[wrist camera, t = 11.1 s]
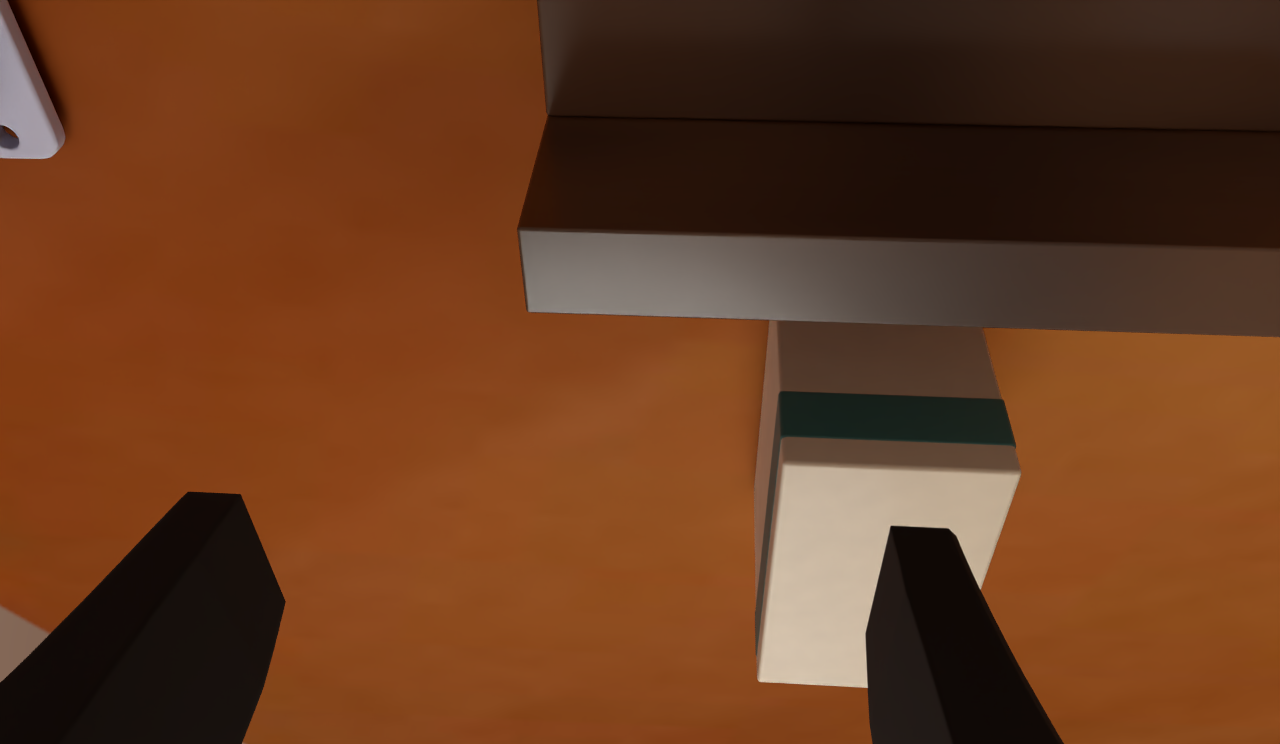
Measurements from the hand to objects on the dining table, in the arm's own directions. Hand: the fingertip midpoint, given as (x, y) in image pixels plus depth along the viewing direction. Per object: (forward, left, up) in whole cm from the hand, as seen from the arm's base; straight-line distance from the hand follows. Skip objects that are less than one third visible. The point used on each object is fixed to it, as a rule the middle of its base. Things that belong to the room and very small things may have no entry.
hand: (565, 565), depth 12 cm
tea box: (+5, -7, -10) cm, 13 cm away
